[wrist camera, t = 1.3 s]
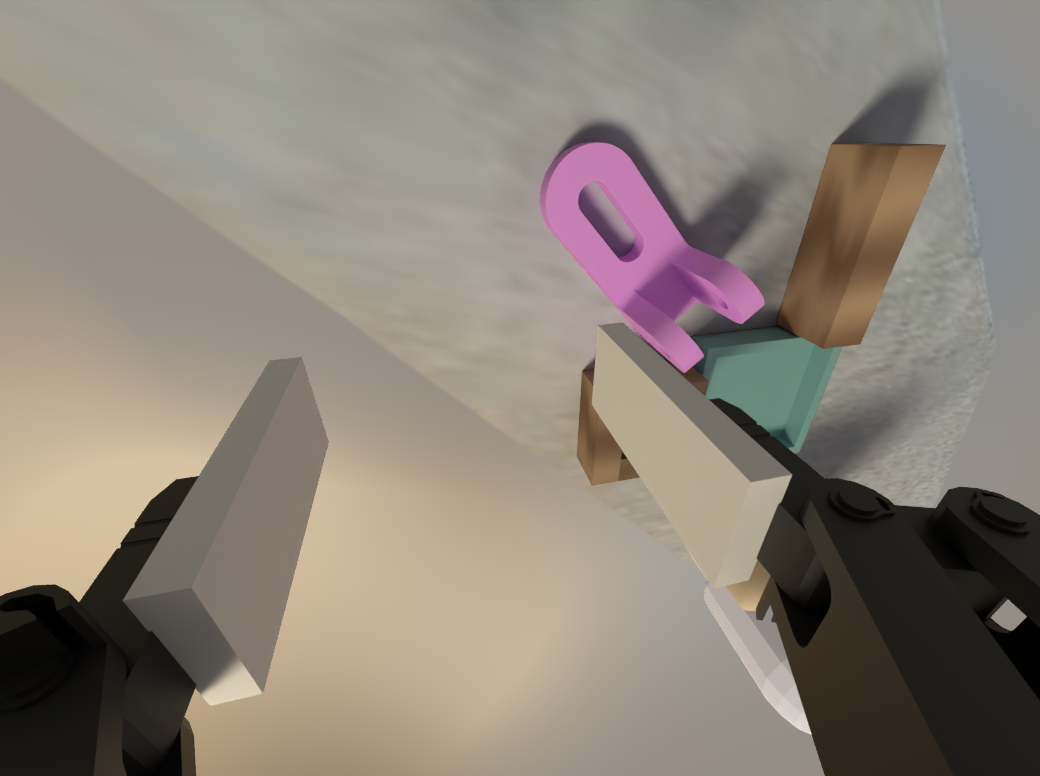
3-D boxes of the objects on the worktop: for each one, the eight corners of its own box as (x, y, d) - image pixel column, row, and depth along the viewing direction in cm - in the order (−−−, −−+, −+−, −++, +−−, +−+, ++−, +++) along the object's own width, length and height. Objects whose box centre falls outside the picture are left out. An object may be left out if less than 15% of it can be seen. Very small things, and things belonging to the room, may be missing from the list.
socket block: (582, 371, 31) (600, 396, 28) (682, 358, 33) (709, 380, 30) (576, 456, 35) (592, 485, 32) (665, 441, 37) (687, 468, 34)
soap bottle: (774, 521, 47) (1055, 820, 26) (696, 573, 48) (901, 890, 28) (739, 475, 41) (1057, 806, 21) (653, 536, 43) (869, 893, 23)
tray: (691, 336, 32) (709, 348, 30) (824, 320, 34) (848, 331, 32) (666, 457, 38) (679, 473, 36) (781, 437, 40) (799, 452, 38)
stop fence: (831, 144, 27) (901, 146, 23) (871, 142, 27) (945, 144, 23) (775, 324, 33) (823, 348, 29) (809, 320, 33) (860, 344, 30)
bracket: (702, 279, 30) (773, 315, 24) (640, 335, 31) (694, 382, 25) (592, 117, 23) (654, 112, 17) (520, 196, 24) (554, 216, 19)
